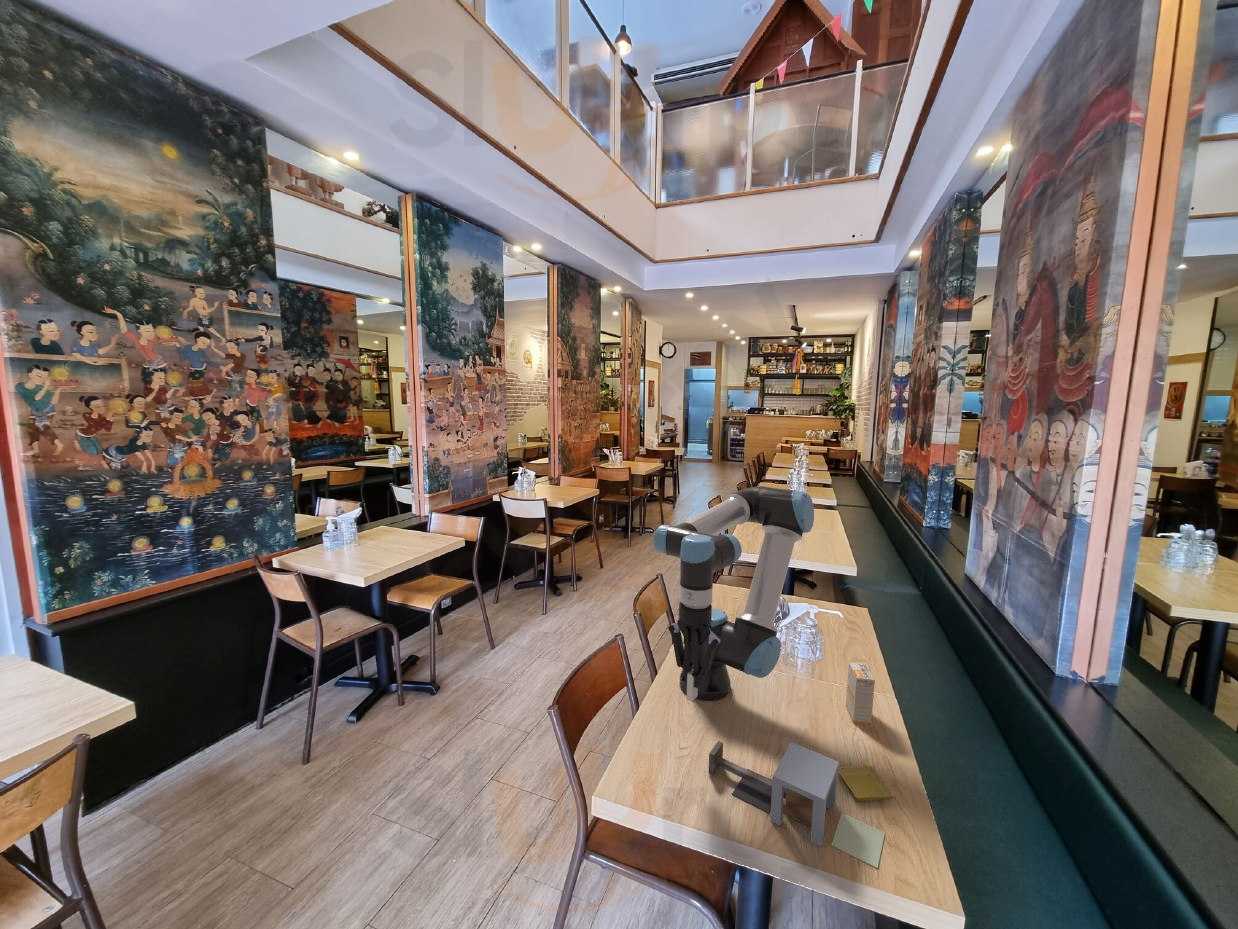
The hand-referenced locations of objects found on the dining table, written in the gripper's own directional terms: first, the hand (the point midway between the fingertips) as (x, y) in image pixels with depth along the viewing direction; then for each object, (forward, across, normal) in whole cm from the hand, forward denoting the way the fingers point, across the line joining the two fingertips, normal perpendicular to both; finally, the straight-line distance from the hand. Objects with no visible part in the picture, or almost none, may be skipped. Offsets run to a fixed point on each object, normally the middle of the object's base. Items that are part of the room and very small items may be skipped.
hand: (692, 697), depth 115 cm
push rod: (+15, +18, 0) cm, 23 cm away
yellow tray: (+16, +36, +15) cm, 42 cm away
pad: (+16, +37, 0) cm, 40 cm away
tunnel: (+16, +26, 0) cm, 31 cm away
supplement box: (+16, +30, +42) cm, 54 cm away
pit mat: (+16, +16, 0) cm, 23 cm away
